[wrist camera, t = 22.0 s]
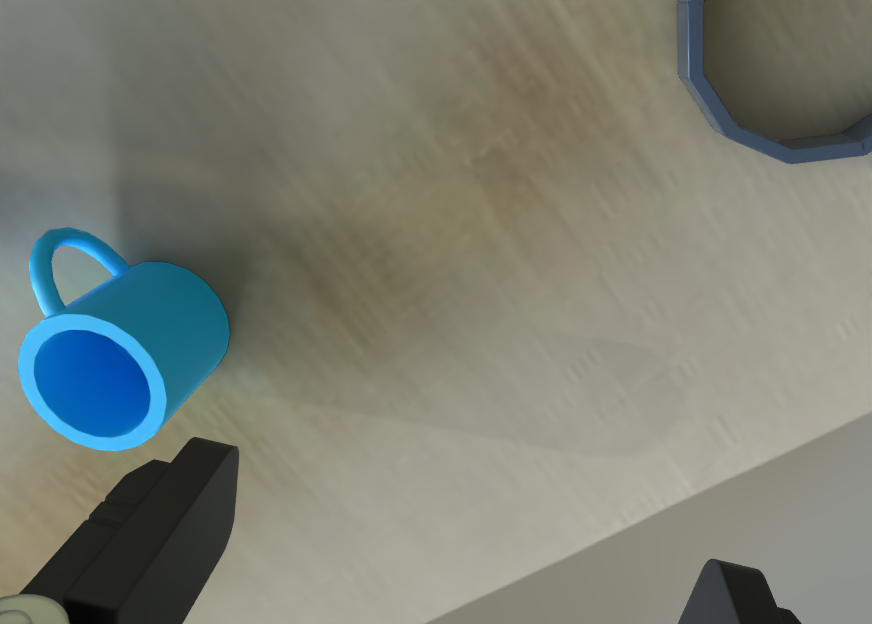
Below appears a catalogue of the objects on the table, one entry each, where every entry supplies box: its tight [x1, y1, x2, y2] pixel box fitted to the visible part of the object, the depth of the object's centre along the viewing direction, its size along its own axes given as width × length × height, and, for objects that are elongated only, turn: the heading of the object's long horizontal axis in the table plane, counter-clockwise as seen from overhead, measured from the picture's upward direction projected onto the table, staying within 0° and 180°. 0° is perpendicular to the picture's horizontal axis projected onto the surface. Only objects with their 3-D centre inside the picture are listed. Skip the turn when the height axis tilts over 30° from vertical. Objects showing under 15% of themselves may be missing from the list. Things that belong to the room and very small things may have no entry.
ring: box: [677, 0, 872, 164], centre depth 31 cm, size 12×12×2 cm
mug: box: [18, 227, 230, 451], centre depth 39 cm, size 12×8×8 cm
